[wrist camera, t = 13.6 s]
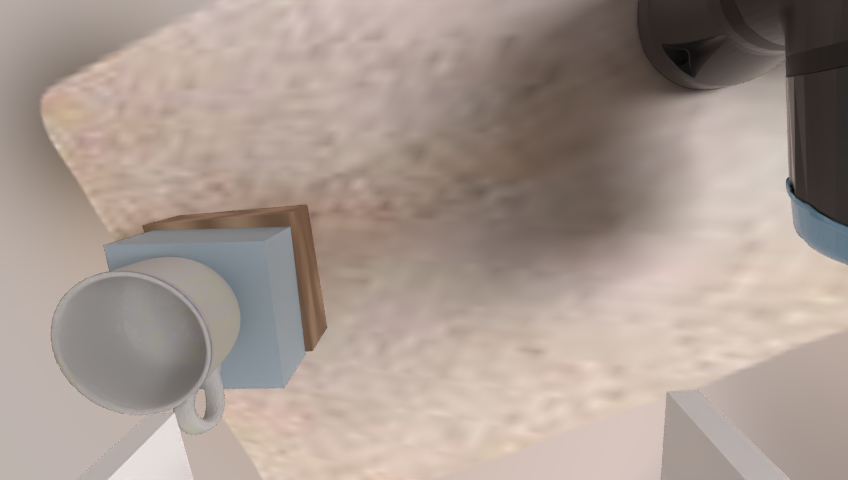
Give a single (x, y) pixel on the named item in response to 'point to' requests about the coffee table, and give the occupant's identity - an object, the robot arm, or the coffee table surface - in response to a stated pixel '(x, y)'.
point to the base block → (302, 251)
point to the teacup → (149, 339)
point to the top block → (239, 293)
